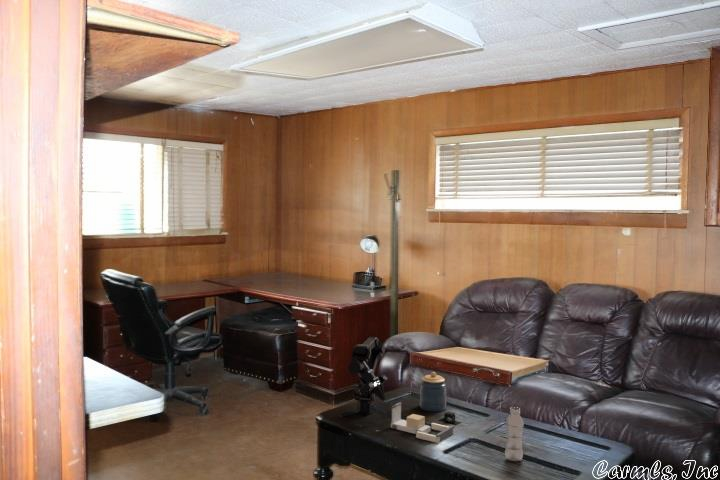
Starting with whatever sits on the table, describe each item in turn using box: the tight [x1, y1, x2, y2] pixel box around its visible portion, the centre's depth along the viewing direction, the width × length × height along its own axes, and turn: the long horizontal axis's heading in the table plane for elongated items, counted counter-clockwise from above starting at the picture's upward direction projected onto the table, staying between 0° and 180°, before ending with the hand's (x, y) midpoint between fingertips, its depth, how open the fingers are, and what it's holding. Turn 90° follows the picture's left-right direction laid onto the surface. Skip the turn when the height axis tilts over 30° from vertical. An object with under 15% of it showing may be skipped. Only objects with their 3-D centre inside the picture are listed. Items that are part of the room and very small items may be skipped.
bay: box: [415, 422, 455, 444], centre depth 255 cm, size 10×14×3 cm
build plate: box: [438, 411, 463, 426], centre depth 273 cm, size 12×7×5 cm, turn 51°
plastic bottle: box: [504, 406, 525, 462], centre depth 229 cm, size 6×7×20 cm
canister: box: [419, 371, 448, 412], centre depth 293 cm, size 13×13×18 cm
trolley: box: [390, 401, 432, 435], centre depth 262 cm, size 16×9×10 cm, turn 55°
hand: (384, 400), depth 271 cm, fingers closed
